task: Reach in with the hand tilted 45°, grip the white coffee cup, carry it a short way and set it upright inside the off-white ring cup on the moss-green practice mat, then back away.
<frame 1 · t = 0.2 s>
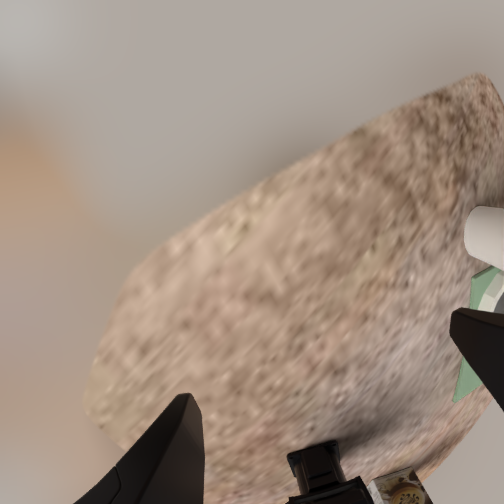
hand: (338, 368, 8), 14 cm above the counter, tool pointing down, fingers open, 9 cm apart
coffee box: (386, 480, 34), on the counter
practice green: (496, 308, 26), on the counter
white coffee cup: (477, 231, 23), on the counter
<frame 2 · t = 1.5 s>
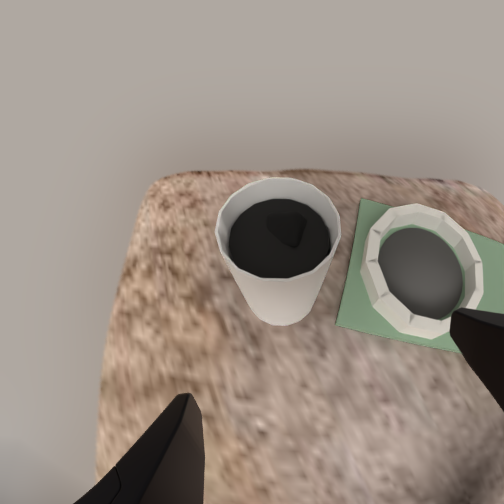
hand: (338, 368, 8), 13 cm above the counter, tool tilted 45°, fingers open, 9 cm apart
practice green: (420, 274, 22), on the counter
white coffee cup: (281, 293, 23), on the counter
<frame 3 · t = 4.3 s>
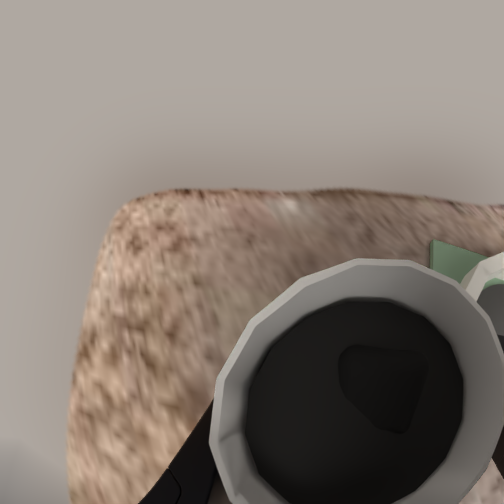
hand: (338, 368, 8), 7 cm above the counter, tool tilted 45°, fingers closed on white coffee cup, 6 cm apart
practice green: (501, 351, 12), on the counter
white coffee cup: (321, 404, 13), on the counter, touching gripper
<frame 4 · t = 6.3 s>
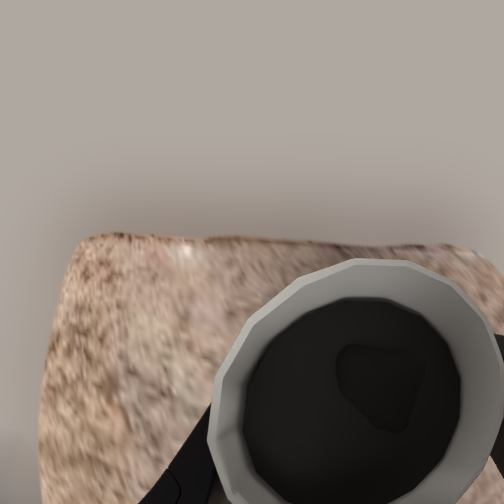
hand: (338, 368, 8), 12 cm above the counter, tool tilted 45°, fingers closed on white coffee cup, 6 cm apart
white coffee cup: (318, 404, 13), point 6 cm above the counter, touching gripper
when the fingers open (8 cm above the counter, at t = 8.5 s): white coffee cup stays where it is, resting on practice green.
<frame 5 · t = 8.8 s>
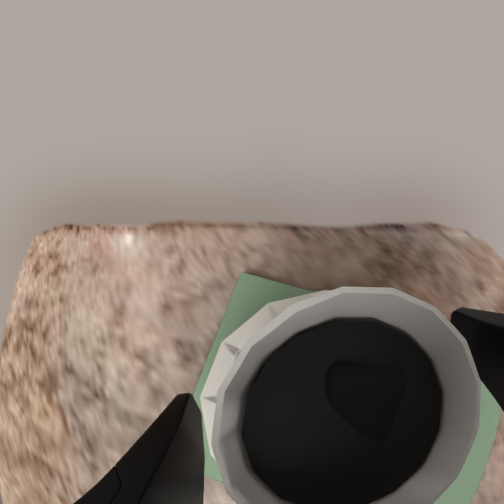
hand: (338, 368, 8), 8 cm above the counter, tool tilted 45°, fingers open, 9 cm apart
practice green: (317, 403, 14), on the counter
white coffee cup: (315, 408, 14), point 1 cm above the counter, touching practice green
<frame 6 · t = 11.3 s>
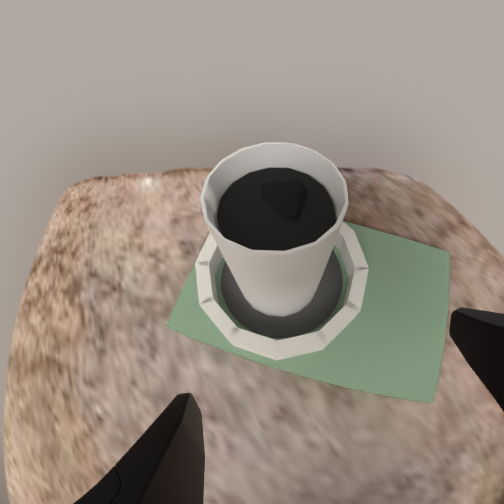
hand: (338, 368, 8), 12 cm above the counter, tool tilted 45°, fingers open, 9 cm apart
practice green: (281, 280, 22), on the counter
white coffee cup: (279, 280, 21), point 1 cm above the counter, touching practice green
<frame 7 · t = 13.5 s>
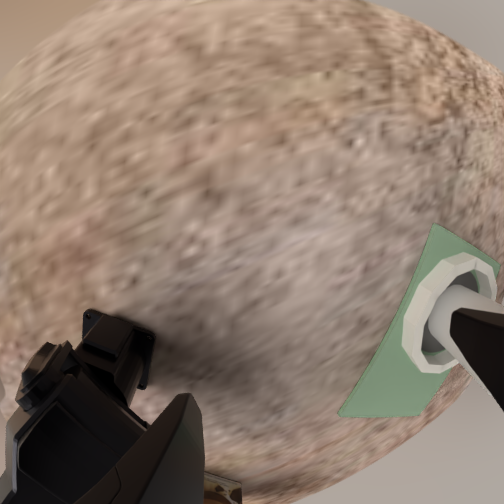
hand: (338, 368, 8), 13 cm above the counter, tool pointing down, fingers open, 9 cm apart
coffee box: (201, 480, 28), on the counter
practice green: (445, 310, 23), on the counter
white coffee cup: (447, 310, 22), point 1 cm above the counter, touching practice green
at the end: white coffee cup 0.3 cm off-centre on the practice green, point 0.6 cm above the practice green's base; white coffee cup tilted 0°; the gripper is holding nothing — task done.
